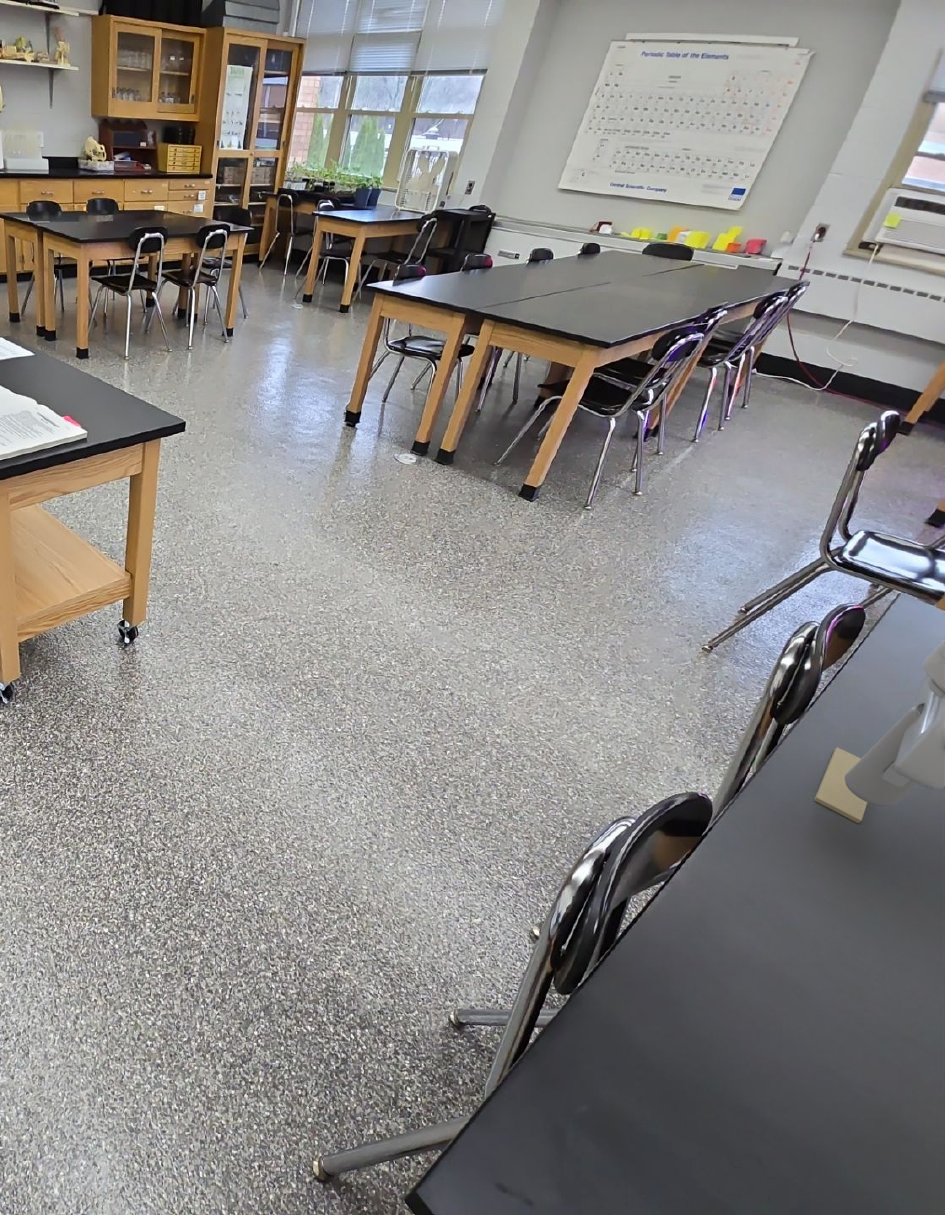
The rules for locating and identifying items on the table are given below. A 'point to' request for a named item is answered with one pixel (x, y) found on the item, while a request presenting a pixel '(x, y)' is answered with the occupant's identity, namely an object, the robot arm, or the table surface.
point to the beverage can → (882, 766)
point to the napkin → (840, 787)
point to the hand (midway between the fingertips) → (895, 766)
